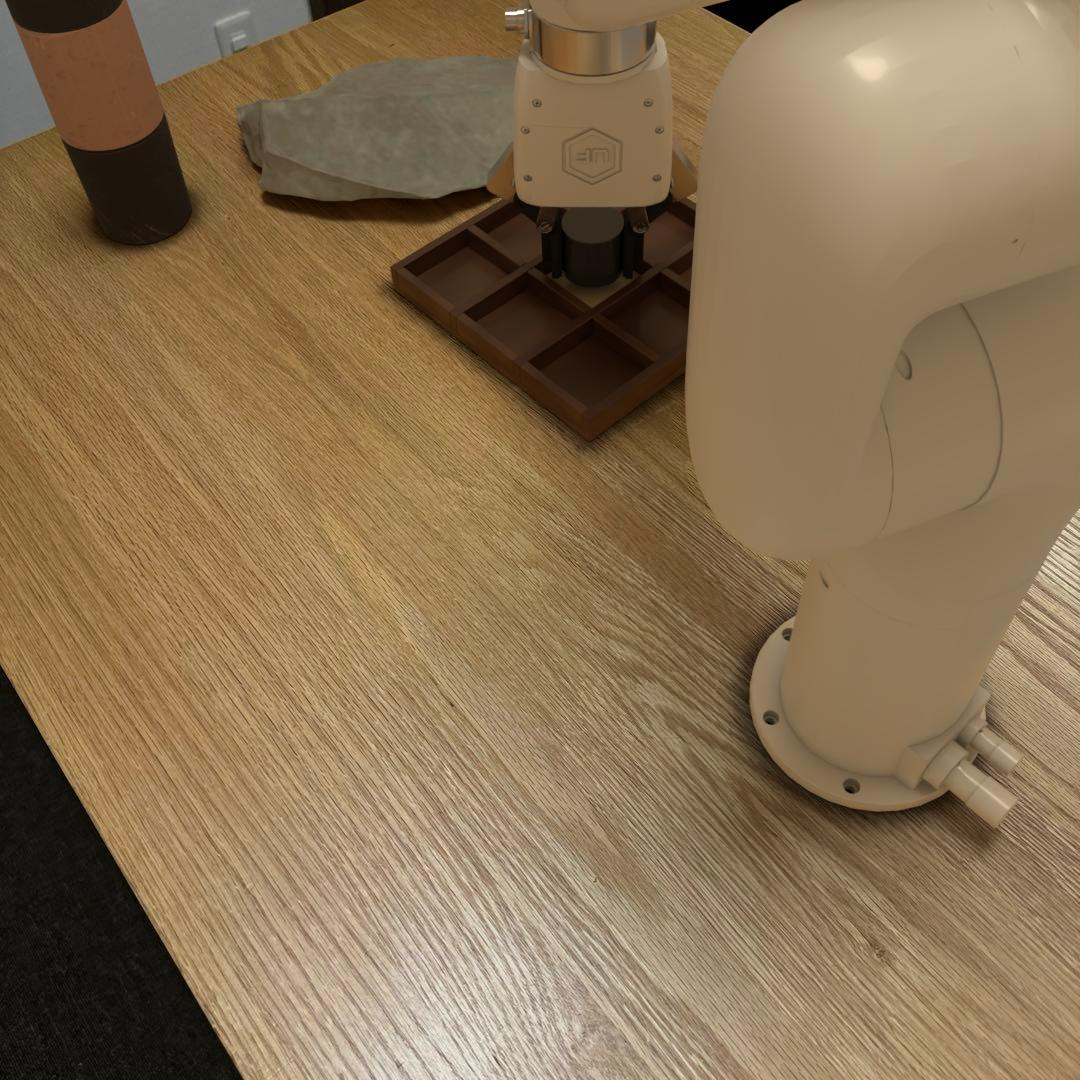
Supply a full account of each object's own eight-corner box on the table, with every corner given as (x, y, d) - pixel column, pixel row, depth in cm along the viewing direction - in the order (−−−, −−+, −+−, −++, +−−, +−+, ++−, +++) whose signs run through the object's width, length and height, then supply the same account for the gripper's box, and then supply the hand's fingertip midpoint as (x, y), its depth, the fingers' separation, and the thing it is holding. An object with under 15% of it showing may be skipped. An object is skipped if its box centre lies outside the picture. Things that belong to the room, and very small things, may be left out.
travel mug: (93, 197, 96) (-8, -50, 80) (189, 176, 97) (108, -71, 81) (102, 256, 91) (-3, 7, 75) (201, 234, 92) (119, -16, 76)
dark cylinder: (636, 267, 85) (637, 222, 82) (591, 297, 84) (592, 252, 80) (593, 238, 87) (593, 193, 84) (549, 267, 86) (547, 222, 82)
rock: (234, 177, 86) (226, 35, 98) (248, 248, 90) (238, 105, 103) (595, 148, 90) (544, 16, 102) (590, 218, 94) (541, 83, 107)
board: (796, 290, 86) (800, 267, 84) (589, 442, 78) (589, 419, 77) (596, 165, 96) (596, 142, 94) (393, 289, 88) (389, 266, 86)
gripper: (446, 63, 69) (471, 301, 84) (739, 61, 68) (713, 302, 83) (457, -6, 73) (479, 231, 88) (733, -9, 72) (709, 231, 87)
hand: (592, 263), depth 85 cm, fingers closed on dark cylinder, 4 cm apart
